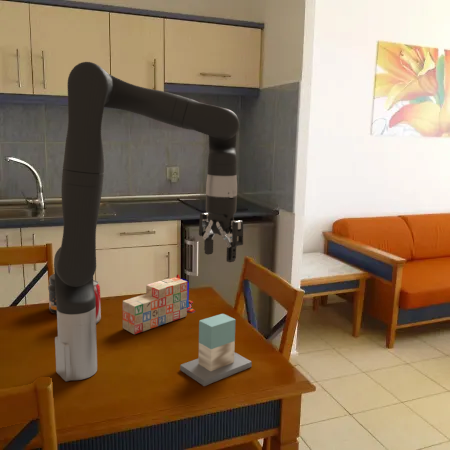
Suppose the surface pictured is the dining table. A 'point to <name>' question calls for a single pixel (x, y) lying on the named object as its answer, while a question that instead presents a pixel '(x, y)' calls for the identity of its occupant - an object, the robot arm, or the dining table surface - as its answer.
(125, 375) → the dining table surface
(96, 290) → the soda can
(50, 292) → the supplement container
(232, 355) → the cream brick
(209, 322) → the teal brick
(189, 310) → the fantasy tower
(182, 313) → the stack of blocks
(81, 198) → the robot arm
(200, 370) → the baseplate
